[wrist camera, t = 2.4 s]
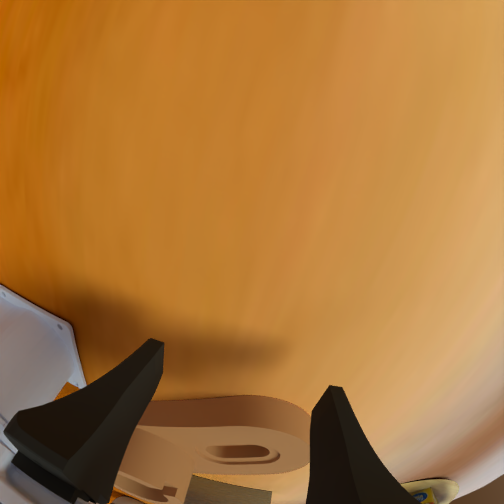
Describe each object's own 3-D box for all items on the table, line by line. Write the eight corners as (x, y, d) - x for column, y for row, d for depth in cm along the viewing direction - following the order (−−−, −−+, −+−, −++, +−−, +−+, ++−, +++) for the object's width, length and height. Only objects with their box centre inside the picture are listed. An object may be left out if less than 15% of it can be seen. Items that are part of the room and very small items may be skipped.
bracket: (150, 446, 24) (129, 497, 18) (101, 398, 22) (68, 453, 15) (323, 441, 20) (322, 514, 13) (297, 384, 17) (291, 482, 11)
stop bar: (137, 465, 28) (125, 494, 24) (134, 455, 26) (120, 486, 22) (262, 499, 28) (258, 529, 23) (271, 491, 26) (267, 525, 21)
